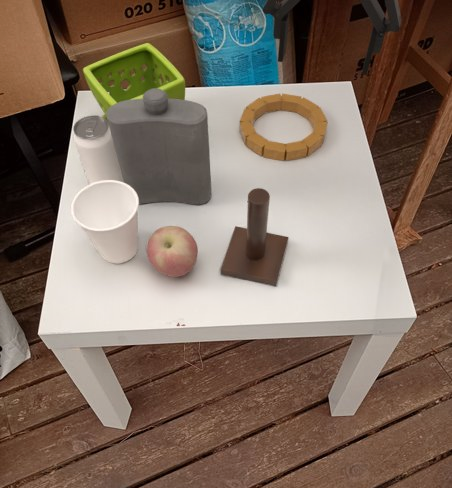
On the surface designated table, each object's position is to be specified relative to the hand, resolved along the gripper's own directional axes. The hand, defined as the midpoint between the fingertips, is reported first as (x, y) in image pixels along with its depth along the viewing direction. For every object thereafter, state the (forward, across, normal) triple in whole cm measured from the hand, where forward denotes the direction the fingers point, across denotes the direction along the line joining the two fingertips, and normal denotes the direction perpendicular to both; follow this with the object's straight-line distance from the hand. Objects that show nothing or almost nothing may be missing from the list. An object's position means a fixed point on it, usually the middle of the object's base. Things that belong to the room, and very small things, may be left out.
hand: (322, 63), depth 81 cm
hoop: (+16, -6, +2) cm, 18 cm away
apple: (+17, -16, -34) cm, 41 cm away
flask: (+17, -22, -19) cm, 33 cm away
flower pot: (+17, -32, -5) cm, 36 cm away
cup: (+17, -26, -33) cm, 45 cm away
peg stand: (+16, -4, -29) cm, 33 cm away
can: (+17, -34, -19) cm, 42 cm away
